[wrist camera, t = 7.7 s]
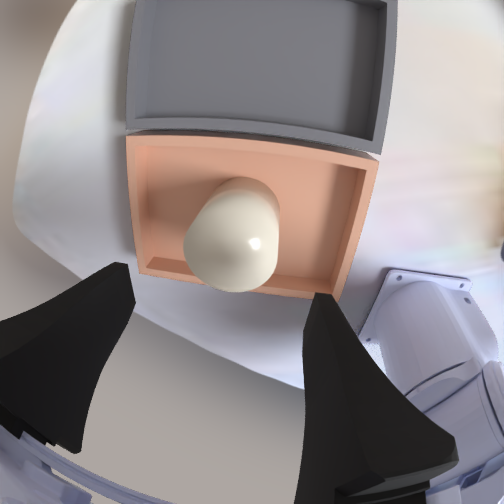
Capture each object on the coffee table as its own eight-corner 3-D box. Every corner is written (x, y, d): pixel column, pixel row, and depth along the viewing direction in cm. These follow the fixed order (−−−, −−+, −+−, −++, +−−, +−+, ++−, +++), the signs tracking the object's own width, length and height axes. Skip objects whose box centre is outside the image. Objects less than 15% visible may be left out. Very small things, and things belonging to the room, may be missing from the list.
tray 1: (383, 9, 10) (397, -2, 7) (367, 146, 15) (380, 154, 13) (157, -6, 10) (139, -17, 8) (145, 124, 15) (125, 129, 13)
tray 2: (366, 152, 15) (379, 161, 13) (333, 280, 20) (338, 302, 18) (145, 130, 16) (125, 136, 13) (152, 255, 21) (139, 273, 18)
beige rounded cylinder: (285, 182, 16) (285, 219, 11) (274, 247, 18) (269, 298, 14) (210, 172, 16) (182, 204, 11) (207, 236, 18) (184, 284, 14)
